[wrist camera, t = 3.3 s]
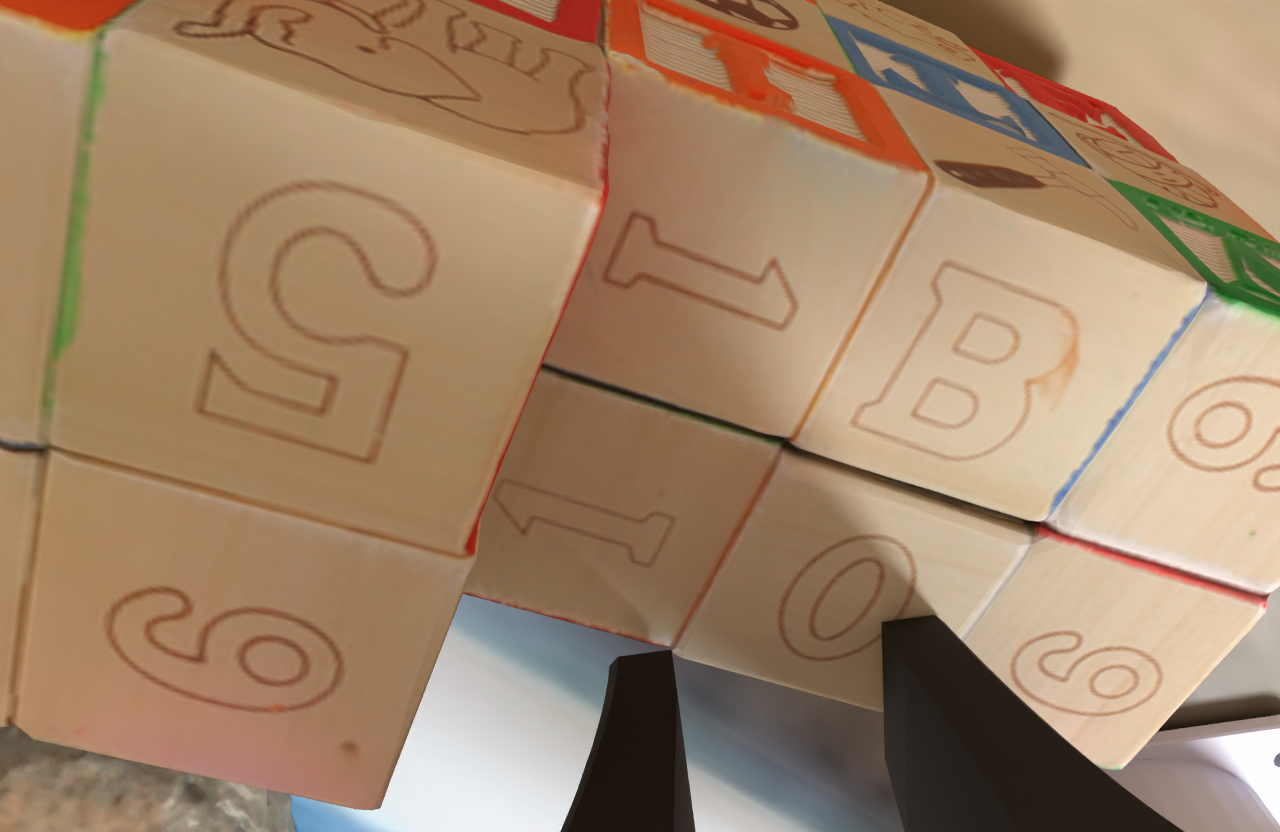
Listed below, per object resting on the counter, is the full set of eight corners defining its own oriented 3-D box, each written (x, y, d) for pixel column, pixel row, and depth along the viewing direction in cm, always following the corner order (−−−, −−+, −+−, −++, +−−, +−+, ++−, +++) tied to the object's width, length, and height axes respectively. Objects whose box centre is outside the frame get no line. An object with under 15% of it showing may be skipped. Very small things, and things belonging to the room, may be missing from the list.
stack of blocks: (1126, 95, 19) (1731, 598, 9) (937, 396, 22) (1228, 1026, 12) (-316, -525, 15) (-2558, -964, 4) (-303, -32, 18) (-1572, 416, 7)
